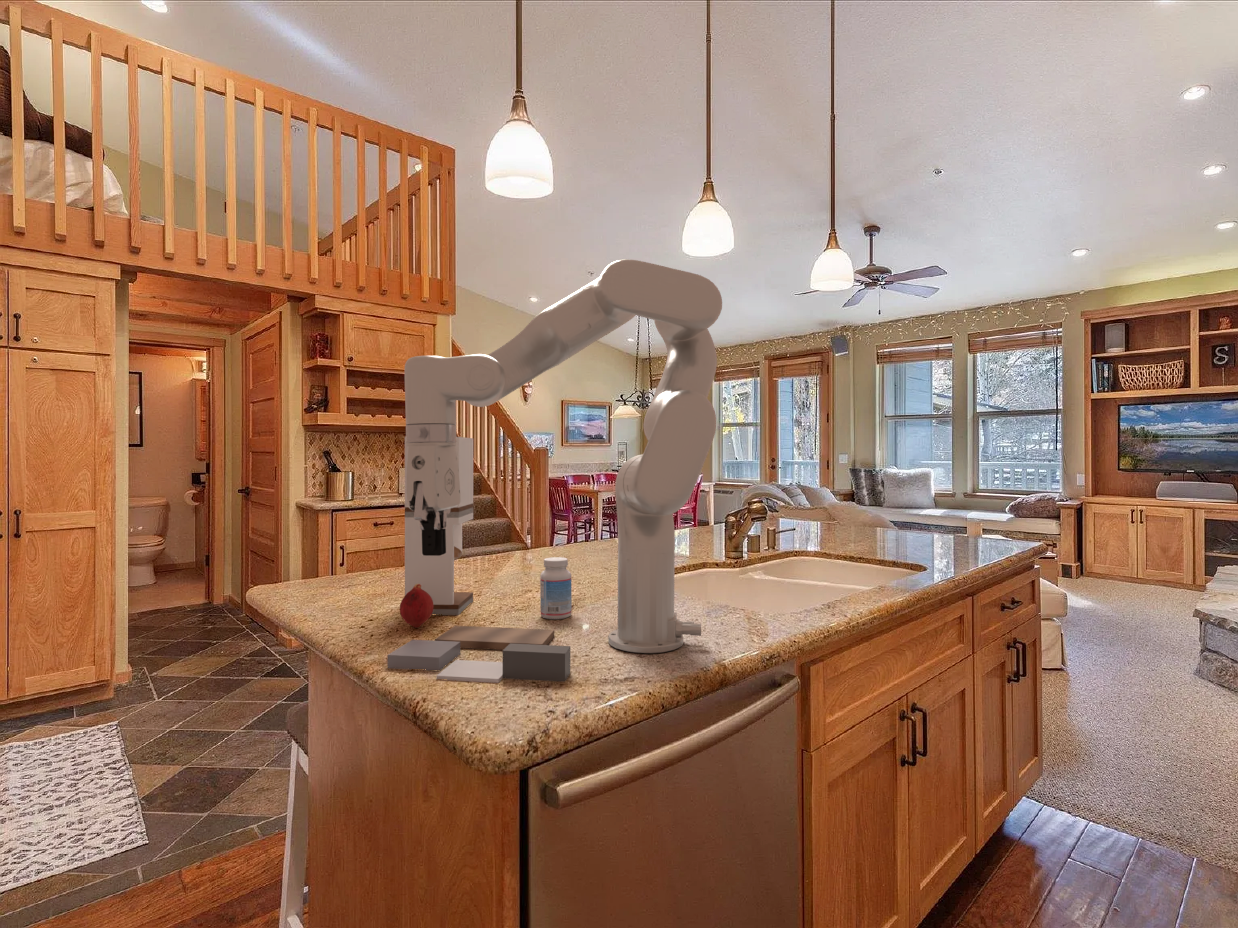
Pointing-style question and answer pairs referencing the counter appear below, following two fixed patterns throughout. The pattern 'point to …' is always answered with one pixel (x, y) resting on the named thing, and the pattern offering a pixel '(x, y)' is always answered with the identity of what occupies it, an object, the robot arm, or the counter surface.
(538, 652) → the stepped grey white block
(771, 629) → the counter surface
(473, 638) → the rest
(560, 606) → the pill bottle
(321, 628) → the counter surface
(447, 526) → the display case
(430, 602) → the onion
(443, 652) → the tile
